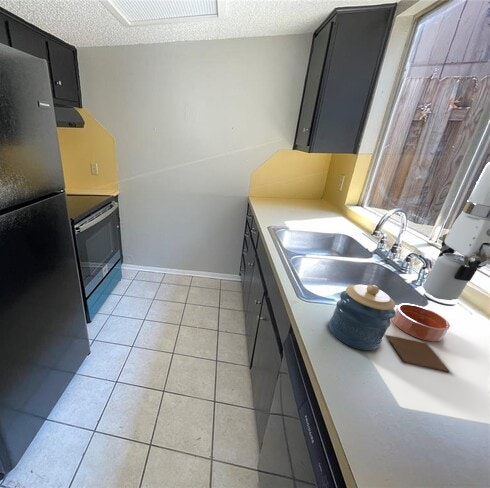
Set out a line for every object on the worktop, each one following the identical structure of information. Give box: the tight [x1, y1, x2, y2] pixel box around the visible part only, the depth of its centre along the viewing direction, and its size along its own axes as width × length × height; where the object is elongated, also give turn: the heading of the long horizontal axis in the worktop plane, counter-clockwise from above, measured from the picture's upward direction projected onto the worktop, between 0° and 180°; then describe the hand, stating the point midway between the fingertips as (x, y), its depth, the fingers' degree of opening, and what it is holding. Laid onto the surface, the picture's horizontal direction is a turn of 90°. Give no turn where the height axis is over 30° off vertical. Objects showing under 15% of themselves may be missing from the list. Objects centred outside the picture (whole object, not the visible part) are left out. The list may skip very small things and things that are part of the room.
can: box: [422, 253, 475, 301], centre depth 72 cm, size 8×8×12 cm
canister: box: [328, 284, 396, 351], centre depth 74 cm, size 13×13×18 cm
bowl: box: [391, 303, 451, 342], centre depth 81 cm, size 12×12×5 cm
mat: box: [386, 334, 450, 373], centre depth 72 cm, size 10×10×1 cm
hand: (451, 271), depth 71 cm, fingers closed on can, 7 cm apart
